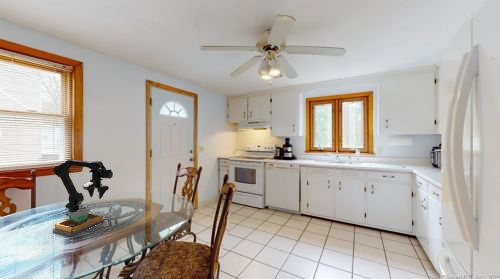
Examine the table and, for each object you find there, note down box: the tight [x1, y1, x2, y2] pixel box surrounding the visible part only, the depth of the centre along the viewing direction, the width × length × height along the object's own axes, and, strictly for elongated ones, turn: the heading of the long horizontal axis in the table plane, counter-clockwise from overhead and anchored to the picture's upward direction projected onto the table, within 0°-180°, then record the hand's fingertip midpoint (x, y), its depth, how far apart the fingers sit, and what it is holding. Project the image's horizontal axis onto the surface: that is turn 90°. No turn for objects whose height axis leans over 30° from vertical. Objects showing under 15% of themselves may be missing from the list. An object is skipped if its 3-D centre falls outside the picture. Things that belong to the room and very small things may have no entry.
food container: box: [67, 205, 91, 227], centre depth 133 cm, size 12×6×10 cm, turn 165°
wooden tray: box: [52, 212, 105, 238], centre depth 133 cm, size 16×21×5 cm
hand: (95, 197), depth 152 cm, fingers open, 9 cm apart
